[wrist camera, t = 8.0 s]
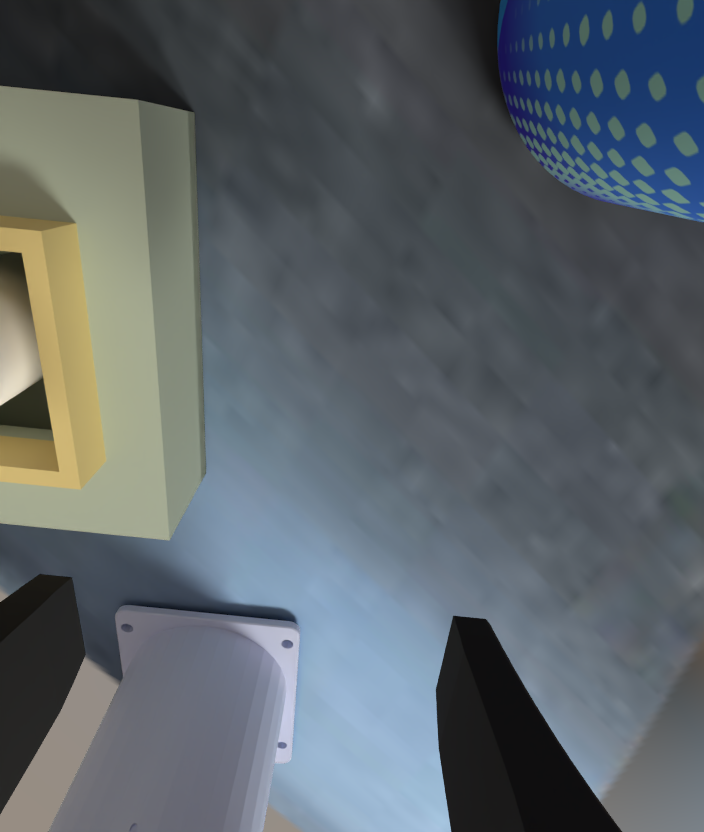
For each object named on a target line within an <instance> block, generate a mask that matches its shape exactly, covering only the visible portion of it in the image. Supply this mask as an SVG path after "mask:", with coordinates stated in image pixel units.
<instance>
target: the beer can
mask: <svg viewBox="0 0 704 832" xmlns="http://www.w3.org/2000/svg"><path fill="white" fill-rule="evenodd" d="M497 50H498V65H499V72H500V79H501V85H502V89H503V93H504V97H505V101H506V104H507V107H508V110H509V113H510V116H511V118H512V121H513V123H514V125H515V127H516V129H517V131H518V133H519V135H520V137H521V138H522V140H523V142H524V143H525V145H526V147H527V148H528V149H529V151H530V152H531V153H532V155H533V156H534V157H535V158H536V160H537V161H538V162H539V163H540V164H541V165H542V166H543V167H544V168H545V169H546V170H547V171H548V172H549V173H550V174H552V175H553V176H554V177H555V178H556V179H558V180H559V181H560V182H562V183H563V184H565V185H567V186H568V187H570V188H571V189H573V190H575V191H577V192H579V193H581V194H583V195H586V196H588V197H591V198H594V199H597V200H600V201H605V202H609V203H613V204H618V205H623V206H628V207H632V208H637V209H642V210H647V211H652V212H656V213H661V214H666V215H671V216H676V217H680V218H685V219H690V220H695V221H700V222H704V0H501V2H500V9H499V19H498V39H497Z"/></svg>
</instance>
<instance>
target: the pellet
mask: <svg viewBox="0 0 704 832" xmlns="http://www.w3.org/2000/svg"><path fill="white" fill-rule="evenodd" d="M42 378H43V373H42V367H41V362H40V356H39V350H38V344H37V338H36V332H35V327H34V321H33V315H32V309H31V303H30V298H29V292H28V286H27V280H26V274H25V268H24V263H23V257H22V253H18V252H10V253H6V254H2V255H0V406H1V405H2V404H4V403H5V402H7V401H8V400H10V399H11V398H13V397H14V396H16V395H18V394H19V393H21V392H22V391H24V390H25V389H27V388H28V387H30V386H32V385H33V384H35V383H36V382H38V381H39V380H41V379H42Z"/></svg>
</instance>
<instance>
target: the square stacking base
mask: <svg viewBox="0 0 704 832" xmlns="http://www.w3.org/2000/svg"><path fill="white" fill-rule="evenodd" d="M10 252H18V253H22V257H23V263H24V268H25V274H26V280H27V286H28V292H29V298H30V303H31V309H32V315H33V321H34V327H35V332H36V338H37V344H38V350H39V356H40V362H41V367H42V373H43V378H42V379H41V380H39V381H38V382H36V383H35V384H33V385H32V386H30V387H28V388H27V389H25V390H24V391H22V392H21V393H19V394H18V395H16V396H14V397H13V398H11V399H10V400H8V401H7V402H5V403H4V404H2V405H1V406H0V523H2V524H12V525H22V526H32V527H42V528H52V529H62V530H72V531H82V532H91V533H101V534H111V535H121V536H131V537H141V538H151V539H161V540H170V539H171V537H172V535H173V533H174V531H175V529H176V528H177V526H178V524H179V522H180V520H181V518H182V516H183V515H184V513H185V511H186V509H187V507H188V505H189V503H190V502H191V500H192V498H193V496H194V494H195V492H196V490H197V489H198V487H199V485H200V483H201V481H202V479H203V478H204V476H205V474H206V455H205V424H204V393H203V362H202V330H201V299H200V268H199V237H198V206H197V175H196V144H195V113H194V112H189V111H185V110H181V109H176V108H172V107H167V106H163V105H159V104H154V103H150V102H145V101H141V100H135V99H125V98H115V97H105V96H95V95H85V94H75V93H66V92H56V91H46V90H36V89H26V88H16V87H7V86H0V255H2V254H6V253H10Z"/></svg>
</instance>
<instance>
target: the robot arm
mask: <svg viewBox="0 0 704 832" xmlns="http://www.w3.org/2000/svg"><path fill="white" fill-rule="evenodd" d="M115 622H116V629H117V637H118V644H119V651H120V658H121V665H122V673H123V679H122V681H121V683H120V685H119V687H118V689H117V691H116V694H115V695H114V697H113V699H112V702H111V703H110V705H109V708H108V710H107V712H106V714H105V716H104V718H103V720H102V722H101V724H100V726H99V728H98V730H97V732H96V734H95V736H94V738H93V740H92V742H91V745H90V747H89V749H88V751H87V753H86V755H85V757H84V759H83V761H82V763H81V765H80V767H79V769H78V771H77V773H76V776H75V777H74V780H73V782H72V784H71V786H70V788H69V790H68V792H67V794H66V796H65V798H64V800H63V802H62V804H61V806H60V808H59V811H58V812H57V814H56V817H55V818H54V821H53V823H52V825H51V827H50V829H49V831H48V832H263V828H264V822H265V816H266V810H267V805H268V799H269V793H270V787H271V781H272V775H273V769H274V763H287V762H289V761H290V760H291V756H292V746H293V731H294V716H295V701H296V687H297V672H298V657H299V643H300V627H299V626H298V625H297V624H296V623H294V622H291V621H282V620H272V619H262V618H253V617H243V616H233V615H223V614H213V613H203V612H193V611H183V610H173V609H163V608H153V607H143V606H133V605H123V606H121V607H120V608H119V609H118V611H117V612H116V614H115ZM128 624H129V625H128ZM286 640H290V641H286ZM85 655H86V654H85V648H84V642H83V637H82V631H81V625H80V620H79V614H78V609H77V603H76V597H75V592H74V586H73V581H72V577H63V576H53V575H43V574H39V575H38V576H37V577H35V578H34V579H32V580H31V581H29V582H28V583H26V584H25V585H24V586H22V587H21V588H19V589H18V590H17V591H15V592H14V593H12V594H11V595H10V596H8V597H7V598H5V599H4V600H3V601H1V602H0V814H1V812H2V810H3V809H4V807H5V805H6V804H7V802H8V800H9V798H10V797H11V795H12V793H13V792H14V790H15V788H16V787H17V785H18V783H19V781H20V780H21V778H22V776H23V774H24V773H25V771H26V769H27V768H28V766H29V764H30V763H31V761H32V759H33V758H34V756H35V754H36V752H37V751H38V749H39V747H40V746H41V744H42V742H43V740H44V739H45V737H46V735H47V733H48V732H49V730H50V728H51V727H52V725H53V723H54V721H55V719H56V718H57V716H58V714H59V713H60V711H61V709H62V707H63V704H64V702H65V700H66V698H67V696H68V694H69V691H70V689H71V687H72V685H73V683H74V680H75V678H76V676H77V673H78V671H79V669H80V666H81V664H82V662H83V659H84V657H85ZM436 701H437V724H438V741H439V752H440V759H441V766H442V773H443V779H444V786H445V793H446V799H447V806H448V812H449V819H450V826H451V832H622V831H621V830H620V828H619V827H618V826H617V824H616V823H615V822H614V820H613V819H612V818H611V816H610V815H609V814H608V812H607V811H606V809H605V808H604V807H603V805H602V804H601V802H600V801H599V800H598V798H597V797H596V796H595V794H594V793H593V791H592V790H591V788H590V787H589V786H588V784H587V783H586V781H585V780H584V778H583V777H582V775H581V774H580V773H579V771H578V770H577V768H576V767H575V765H574V764H573V762H572V761H571V759H570V758H569V756H568V755H567V753H566V752H565V750H564V749H563V747H562V746H561V744H560V743H559V741H558V740H557V738H556V737H555V735H554V733H553V732H552V730H551V729H550V727H549V725H548V724H547V722H546V721H545V719H544V718H543V716H542V714H541V713H540V711H539V710H538V708H537V706H536V705H535V703H534V701H533V700H532V698H531V696H530V695H529V693H528V691H527V690H526V688H525V686H524V685H523V683H522V681H521V679H520V678H519V676H518V674H517V673H516V671H515V669H514V667H513V666H512V664H511V662H510V660H509V658H508V657H507V655H506V653H505V651H504V649H503V648H502V646H501V644H500V642H499V640H498V638H497V636H496V635H495V633H494V631H493V629H492V627H491V625H490V624H489V622H488V621H487V620H486V619H480V618H470V617H460V616H453V620H452V624H451V628H450V632H449V636H448V641H447V645H446V649H445V653H444V658H443V662H442V666H441V670H440V675H439V679H438V683H437V687H436Z"/></svg>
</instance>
